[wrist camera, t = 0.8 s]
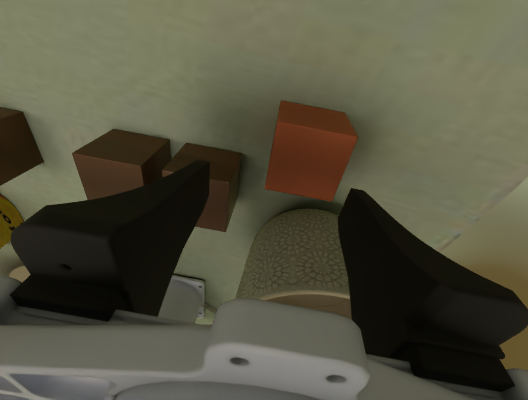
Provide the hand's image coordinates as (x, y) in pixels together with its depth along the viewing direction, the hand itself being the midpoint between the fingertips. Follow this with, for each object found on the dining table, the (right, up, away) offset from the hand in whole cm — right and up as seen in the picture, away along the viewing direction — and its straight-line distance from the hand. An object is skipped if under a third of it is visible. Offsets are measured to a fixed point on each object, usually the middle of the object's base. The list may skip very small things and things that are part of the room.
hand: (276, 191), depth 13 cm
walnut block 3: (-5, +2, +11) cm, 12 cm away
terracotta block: (+3, +5, +8) cm, 9 cm away
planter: (+4, -4, +14) cm, 16 cm away
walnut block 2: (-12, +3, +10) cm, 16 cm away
